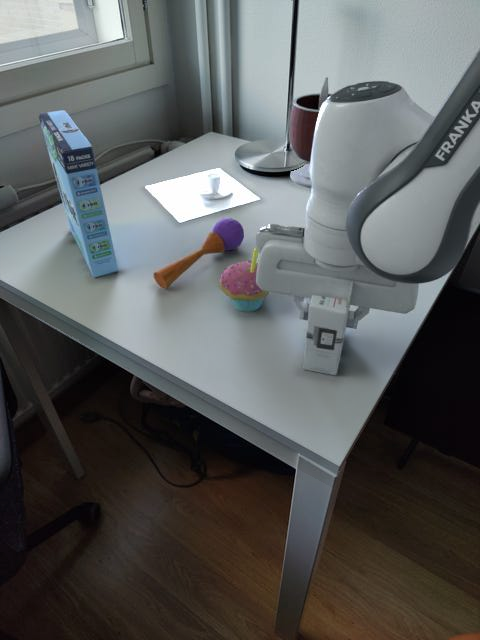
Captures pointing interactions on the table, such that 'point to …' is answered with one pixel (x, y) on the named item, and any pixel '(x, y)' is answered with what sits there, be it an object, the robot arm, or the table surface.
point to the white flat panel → (201, 194)
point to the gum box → (79, 190)
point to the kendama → (204, 250)
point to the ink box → (325, 333)
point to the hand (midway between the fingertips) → (328, 321)
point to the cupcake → (243, 285)
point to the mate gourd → (305, 130)
